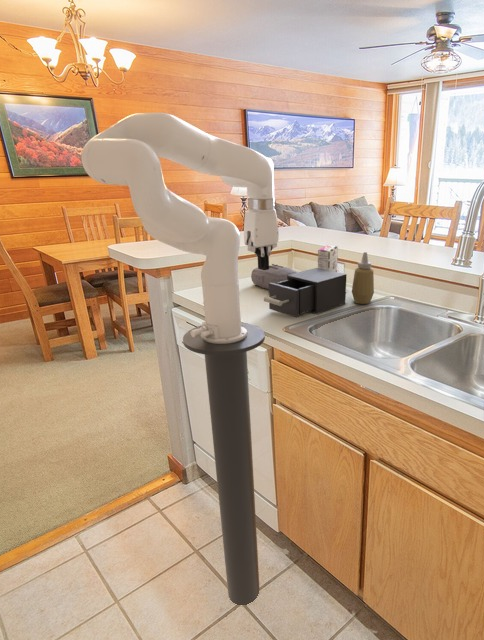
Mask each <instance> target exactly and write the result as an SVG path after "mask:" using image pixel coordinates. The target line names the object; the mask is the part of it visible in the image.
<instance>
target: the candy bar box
mask: <svg viewBox="0 0 484 640" xmlns="http://www.w3.org/2000/svg"><path fill="white" fill-rule="evenodd" d="M338 256H339V246H338V245H330V244H327V245H325V246H323V247H321V248H320V249H318V250H317V268H320V269H325V270H329V271H334V272H338V259H339V258H338Z"/></svg>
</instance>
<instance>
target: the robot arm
mask: <svg viewBox="0 0 484 640" xmlns="http://www.w3.org/2000/svg"><path fill="white" fill-rule="evenodd" d="M80 158H81V164H82V167H83V170H84V172H85V173H86V174H87V176H89V177H90V178H91V179H92V180H94V181H95V182H96V183H99V184H102V185H108V186H109V185H110V186H122V187H128V190H129V194H130V200H131V203H132V206H133V209H134V212H135V214H136V216H137V217H138V218H139V219H140V220H141V224H142V227H143V228H144V230H145V232H146V233H147V234H148V235H149V236H150V237H151V238H152V239H154V240H156V241H158V242H160V243H163V244H165V245H168V246H170V247H173V248H175V249H177V250H179V251H182V252H186V253H190V254H197V255H203V256H205V260H204V262H203V265H202V267H201V271H200V279H201V280H200V281H201V288H202V298H203V309H204V320H205V321H203V322H202V323H201V324H202V325H200V326H201V327H200V328H199V329H195V330H191V329H190V330H191V336H192V337H197V336H200V335H201V338H202V339H203V340H204V341H206V342H209V343H214V344H228V343H234V342H238V341H240V340H242V339H244V338H245V337H246V336H247V330H246V329H245V328H244V327H242V326H241V323H242V317H241V301H240V300H241V299H240V283H239V251H240V245H241V235H240V230H239V228H238V227H237V226H236V224H235V223H234V222H232V221H231V220H228V219H225V218H221V217H213V216H207V215H206V213H205V212H204V211H203V210H202V209H201V207H199V206H197V205H196V204H194V203H192V202H191V201H189V200H187V199H185V198H184V197H182V196H179V194H176V193H174V192H173V191H172V190H170V189H169V188H168V187H167V185H166V183H165V179H164V175H163V169H162V163H161V160H160V159H161V158H162V159H165V160H169V161H171V162H174V163H176V164H179V165H181V166H183V167H186V168H187V169H190V170H193V171H195V172H198V173H200V174H205V175H210V176H214V177H215V176H216V177H220V178H221V180H222V181H223V183H224V184H226V185H228V186H229V187H234V188H246V198H247V199H246V200H247V210H245V213H244V218H243V219H244V221H243V243H244V245H245V246H247V251H248V252H251V253H254V254H255V256H256V257H257V268H258V269H261V270H268V269H269V266H270V256H271V253H272V250H274V249H275V248H277V247H278V242H279V236H280V235H279V223H278V221H279V220H278V215H277V211H276V209H275V205H276V203H277V201H276V199H275V181H274V178H275V177H274V173H275V172H274V162H273V160H272V158H270V157H267V156H265V155H263V154H262V153H261V152H259V151H256V150H255V149H252V148H251V147H248V146H245V145H242V144H238V143H235V142H232V141H229V140H227V139H224V138H220V137H217V136H214V135H211V134H209V133H207V132H205V131H204V130H201V129H199V128H198V127H196V126H194V125H193V124H191V123H189V122H186V121H185V120H183V119H181V118H180V117H177V116H175V115H173V114H170V113H166V112H143V113H142V112H140V113H138V112H137V113H133V114H129V115H128V116H126V117H124V118H122V119H121V120H119V121H117V122H116V123H114V124H113V125H111V126H109V127H108V128H106V129H105V130H103V131H101V132H100V133H98V134H96V135H94V136H93V137H92V138H90V139H89V140H88V141H87V142H86V143H85V145H84V146H83V147H82V151H81V157H80Z"/></svg>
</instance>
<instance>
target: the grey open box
mask: <svg viewBox="0 0 484 640" xmlns="http://www.w3.org/2000/svg"><path fill="white" fill-rule="evenodd" d="M347 275H348V274H347V273H342V272H338V271H337V272H334V271H329V270H325V269H320V268H318V267H314V268H310V269H307V270H302V271H298V272H297V273H294V274H290V275H287V280H289V279H295V280H299V281H303V282H307V283H311V284H315V309H313V310H310V311H307V312H308V313H312V314H315V315H318V314H321V313H323V312H326V311H329V310H332V309H335V308H337V307H340V306H343V305H346V297H347V277H348V276H347Z"/></svg>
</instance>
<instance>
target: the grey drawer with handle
mask: <svg viewBox="0 0 484 640" xmlns="http://www.w3.org/2000/svg"><path fill="white" fill-rule="evenodd" d="M263 301H264V302H265V303H268V309H270V310H272V311H275V312H278V313H281V314H284V315H286V316H287V315H288V316H290V317H293V318H299V317H300V315H301V314H305V313H307V312H308V311H310V310H313V309H315V284H311V283H307V282H303V281H299V280H295V279H289V280H285V281H281V282H277V283H276V284H275V283H269V289H268V296H264V297H263Z"/></svg>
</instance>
